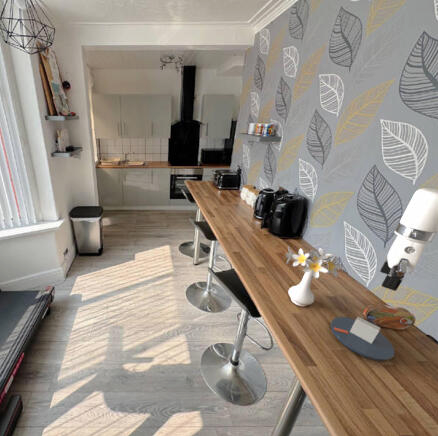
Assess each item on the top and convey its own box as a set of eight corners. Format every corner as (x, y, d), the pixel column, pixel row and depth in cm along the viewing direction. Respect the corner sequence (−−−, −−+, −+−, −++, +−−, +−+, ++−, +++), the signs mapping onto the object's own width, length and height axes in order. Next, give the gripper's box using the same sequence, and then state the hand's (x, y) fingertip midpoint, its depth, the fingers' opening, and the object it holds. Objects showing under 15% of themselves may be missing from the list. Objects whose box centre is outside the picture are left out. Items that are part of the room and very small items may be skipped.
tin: (362, 323, 90) (372, 306, 87) (358, 317, 93) (366, 300, 89) (409, 332, 87) (421, 315, 83) (403, 325, 90) (414, 308, 86)
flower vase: (274, 285, 109) (289, 237, 99) (321, 300, 101) (343, 250, 90) (271, 302, 98) (288, 251, 88) (324, 321, 90) (349, 267, 80)
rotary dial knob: (378, 326, 86) (386, 312, 84) (405, 369, 72) (416, 354, 69) (324, 313, 92) (330, 299, 89) (339, 350, 77) (347, 335, 74)
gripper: (441, 248, 58) (407, 301, 65) (428, 226, 70) (401, 273, 77) (399, 238, 63) (372, 288, 70) (394, 219, 75) (371, 264, 82)
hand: (387, 280), depth 74 cm, fingers open, 9 cm apart
